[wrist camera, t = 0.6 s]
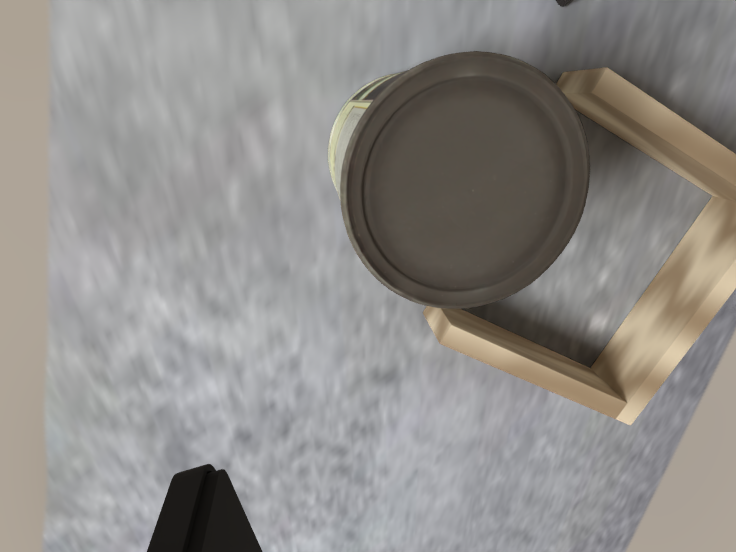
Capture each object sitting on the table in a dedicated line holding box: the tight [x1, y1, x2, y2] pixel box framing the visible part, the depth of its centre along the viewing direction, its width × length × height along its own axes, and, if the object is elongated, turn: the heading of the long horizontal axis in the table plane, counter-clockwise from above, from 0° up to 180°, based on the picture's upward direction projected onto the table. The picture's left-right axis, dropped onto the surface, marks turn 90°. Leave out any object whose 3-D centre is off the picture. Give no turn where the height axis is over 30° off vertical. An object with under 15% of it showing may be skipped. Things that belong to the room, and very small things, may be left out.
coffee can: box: [328, 51, 590, 309], centre depth 26 cm, size 10×10×14 cm
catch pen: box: [423, 68, 736, 425], centre depth 34 cm, size 19×17×5 cm
